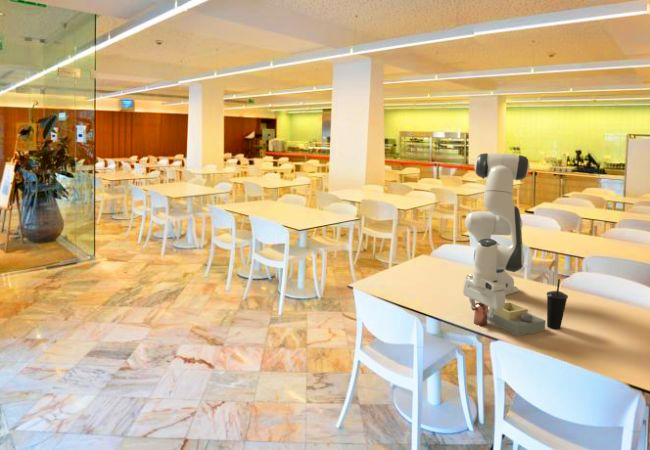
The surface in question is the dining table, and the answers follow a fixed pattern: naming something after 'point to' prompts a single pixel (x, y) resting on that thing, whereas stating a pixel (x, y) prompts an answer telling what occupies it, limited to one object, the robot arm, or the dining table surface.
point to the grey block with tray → (517, 320)
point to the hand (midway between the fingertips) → (481, 312)
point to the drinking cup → (555, 307)
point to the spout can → (480, 314)
